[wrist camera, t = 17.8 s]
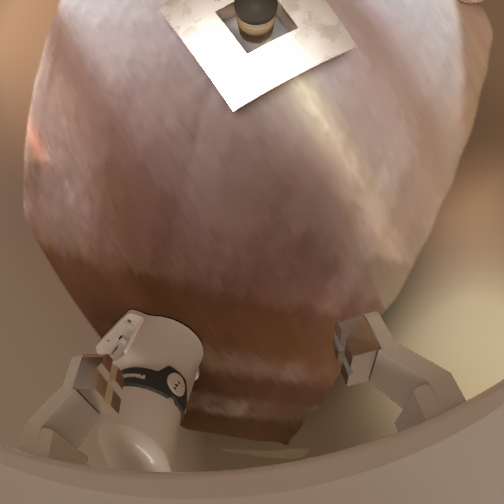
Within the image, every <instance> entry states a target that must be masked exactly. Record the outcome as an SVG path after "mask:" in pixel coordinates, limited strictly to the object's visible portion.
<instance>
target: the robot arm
mask: <svg viewBox="0 0 504 504" xmlns="http://www.w3.org/2000/svg"><path fill="white" fill-rule="evenodd" d="M130 320H131V321H130ZM334 329H335V331H336V335H335V336H334V338H333V346H334V352H335V356H336V359H337V362H339V363H340V364H342V369H341V373H342V375H343V378H344V380H345V383H346V386H349V385H354V384H358V383H361V382H365V381H369V382H370V383H371V384H373V385H374V386H375V387H376V388H378V390H380V391H381V392H383V393H384V394H385V395H386V396H387V397H389V398H390V399H391V400H392V401H394V402H395V403H396V404H397V405H399V406H400V407H401V408H402V409H403V411H402V412H401V414H400V416H399V417H398V419H397V420H396V422H395V425H396V428H397V430H398V432H397V433H394V434H391V435H389V436H386V437H383V438H380V439H377V440H374V441H371V442H368V443H365V444H362V445H359V446H355V447H352V448H348V449H344V450H341V451H338V452H334V453H330V454H325V455H322V456H317V457H312V458H308V459H303V460H299V461H293V462H287V463H282V464H276V465H269V466H262V467H255V468H246V469H238V470H225V471H210V472H175V463H174V462H175V450H176V444H177V437H178V431H179V425H180V422H181V421H182V420H183V418H184V414H185V413H186V405H187V401H188V399H189V396H190V393H191V390H192V387H193V384H194V381H195V380H197V379H198V377H199V374H200V371H199V365H200V363H201V361H202V358H203V346H202V344H201V342H200V340H199V338H198V337H197V336H196V335H195V333H194V332H192V331H191V330H190V329H189V328H188V327H186V326H185V325H183V324H181V323H179V322H177V321H175V320H172V319H169V318H165V317H160V316H150V315H146V314H144V313H141V312H139V311H136V310H129V311H128V312H127V313H126V314H125V315H124V316H123V317H122V318H121V319H120V320H119V321H118V322H117V323H116V324H115V325H114V326H113V327H112V328H111V329H110V330H109V331H108V332H107V333H106V334H105V335H104V336H103V337H102V339H101V340H100V341H99V342H98V343H97V344H96V347H95V348H96V351H97V353H98V354H89V355H88V354H87V355H86V354H85V355H74V356H73V357H72V359H71V361H70V364H69V367H68V370H67V374H66V377H65V380H64V383H63V386H62V389H58V390H57V391H56V392H55V393H54V394H53V395H52V396H51V398H49V400H48V401H47V402H46V403H45V404H44V405H43V406H42V407H41V408H40V409H39V410H38V411H37V412H36V413H35V414H34V415H33V417H32V418H31V419H30V420H29V421H28V422H27V423H26V426H25V429H24V433H23V436H22V440H21V444H20V449H19V450H17V449H14V448H10V447H7V446H4V445H1V444H0V504H504V379H503V380H502V381H500V382H499V383H497V384H495V385H494V386H492V387H490V388H489V389H487V390H485V391H484V392H482V393H480V394H479V395H477V396H475V397H473V398H471V399H469V400H467V401H466V400H465V398H464V396H463V394H462V392H461V391H460V389H459V387H458V385H457V383H456V381H455V380H454V378H453V376H452V374H451V373H450V372H448V371H447V370H445V369H443V368H441V367H439V366H438V365H436V364H434V363H433V362H431V361H429V360H427V359H425V358H424V357H422V356H420V355H419V354H417V353H415V352H413V351H412V350H410V349H408V348H406V347H405V346H403V345H401V344H397V345H396V343H395V342H394V340H393V338H392V336H391V335H390V333H389V331H388V329H387V327H386V325H385V324H384V322H383V320H382V318H381V317H380V315H379V313H377V312H372V313H368V314H364V315H359V316H355V317H351V318H347V319H343V320H339V321H336V322H335V327H334ZM100 414H104V416H103V418H102V421H101V423H100V426H99V429H98V441H99V445H100V448H101V450H102V452H103V454H104V455H105V457H106V460H107V462H108V465H109V468H110V469H108V468H101V467H93V466H91V465H88V464H87V462H88V457H87V455H86V454H84V453H83V452H81V451H80V450H79V449H78V448H79V446H80V445H81V443H82V442H83V440H84V439H85V437H86V436H87V435H88V433H89V431H90V430H91V429H92V427H93V426H94V424H95V423H96V421H97V420H98V418H99V417H100Z"/></svg>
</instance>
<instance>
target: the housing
mask: <svg viewBox="0 0 504 504" xmlns="http://www.w3.org/2000/svg"><path fill="white" fill-rule="evenodd" d="M277 1H278V8H277V12H276V15H277V17H278V18H279V19H280V20H281V22H282V23H283V24H284V26H285V27H286V29H287V30H288V31H289V33H287V34H285V35H283V36H281V37H279V38H277V39H275V40H273V41H271V42H269V43H267V44H265V45H263V46H261V47H259V48H258V49H256V50H254V51H252V52H250V53H248V54H247V53H246V52H245V51H244V49H243V48H242V47H241V45H240V44H239V43H238V41H237V40H236V38H235V37H234V36H233V35H232V33H231V32H230V31H229V29H228V28H227V27H226V25H225V24H224V23H223V22H224V21H225V20H227V19H229V18H231V17H233V16H234V15H236V12H235V8H234V0H169V1H167V2H166V3H164V4H163V5H161V6H160V7H158V8H157V9H158V10H159V11H160V12H161V14H162V15H163V16H164V17H165V19H166V20H167V21H168V22H169V24H170V25H171V26H172V28H173V29H174V30H175V32H176V33H177V34H178V35H179V37H180V38H181V39H182V41H183V42H184V43H185V45H186V46H187V47H188V49H189V50H190V51H191V53H192V54H193V55H194V57H195V58H196V60H197V61H198V62H199V64H200V65H201V66H202V68H203V69H204V71H205V72H206V73H207V75H208V76H209V78H210V79H211V80H212V82H213V83H214V85H215V86H216V87H217V89H218V90H219V92H220V93H221V95H222V96H223V97H224V99H225V100H226V102H227V103H228V105H229V106H230V108H231V109H232V111H237V110H239V109H241V108H242V107H244V106H246V105H247V104H249V103H251V102H252V101H254V100H256V99H258V98H259V97H261V96H263V95H264V94H266V93H268V92H270V91H272V90H273V89H275V88H277V87H279V86H281V85H282V84H284V83H286V82H288V81H290V80H292V79H294V78H296V77H298V76H299V75H301V74H303V73H305V72H307V71H309V70H311V69H313V68H315V67H317V66H319V65H321V64H324V63H326V62H328V61H330V60H332V59H334V58H336V57H339V56H341V55H343V54H345V53H347V52H349V51H350V50H352V49H354V48H356V47H357V45H356V44H355V42H354V41H353V39H352V38H351V36H350V35H349V33H348V32H347V30H346V29H345V27H344V26H343V24H342V23H341V21H340V20H339V18H338V17H337V16H336V14H335V13H334V11H333V10H332V9H331V7H330V6H329V5H328V3H327V2H326V1H325V0H277Z"/></svg>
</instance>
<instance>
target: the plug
mask: <svg viewBox="0 0 504 504" xmlns="http://www.w3.org/2000/svg"><path fill="white" fill-rule="evenodd" d="M234 8H235V12H236V17H237V22H238V26H239V31H240V35H241V36H242V38H243V39H244V40H246V41H248V42H250V43H262V42H264V41H266V40H267V39H268V38H269V37H270V36H271V34H272V30H273V25H274V21H275V17H276V12H277V8H278V1H277V0H234Z"/></svg>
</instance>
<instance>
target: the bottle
mask: <svg viewBox="0 0 504 504" xmlns="http://www.w3.org/2000/svg"><path fill="white" fill-rule="evenodd" d="M459 1H461V2H463V3H466V4H472V3H478V2H481V1H484V0H459Z"/></svg>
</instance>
